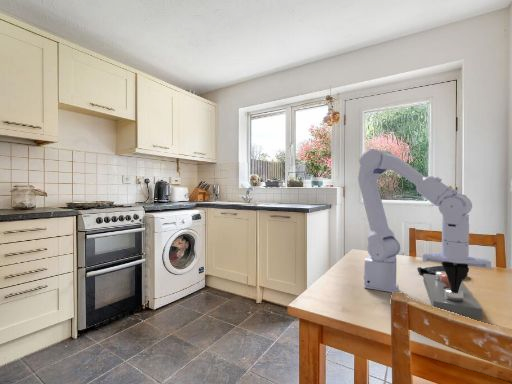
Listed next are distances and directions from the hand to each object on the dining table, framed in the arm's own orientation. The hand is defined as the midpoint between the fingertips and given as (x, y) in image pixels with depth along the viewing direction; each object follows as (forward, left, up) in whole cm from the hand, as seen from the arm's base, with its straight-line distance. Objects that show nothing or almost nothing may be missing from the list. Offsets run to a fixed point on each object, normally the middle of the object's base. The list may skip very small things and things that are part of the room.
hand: (454, 291), depth 71 cm
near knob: (0, 0, -4) cm, 4 cm away
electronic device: (+2, +30, -5) cm, 30 cm away
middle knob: (0, +8, -2) cm, 8 cm away
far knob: (0, +16, -4) cm, 16 cm away
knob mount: (0, +8, -4) cm, 9 cm away
